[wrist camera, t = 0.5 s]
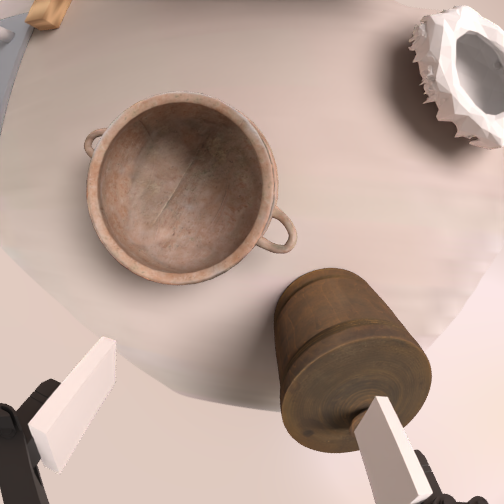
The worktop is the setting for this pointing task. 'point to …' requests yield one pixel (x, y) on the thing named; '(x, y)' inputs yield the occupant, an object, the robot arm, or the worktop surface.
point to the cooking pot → (183, 188)
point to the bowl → (464, 72)
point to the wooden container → (342, 359)
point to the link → (47, 14)
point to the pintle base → (11, 55)
